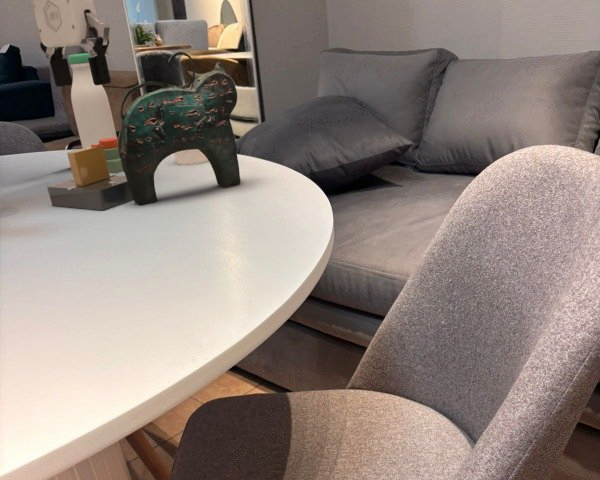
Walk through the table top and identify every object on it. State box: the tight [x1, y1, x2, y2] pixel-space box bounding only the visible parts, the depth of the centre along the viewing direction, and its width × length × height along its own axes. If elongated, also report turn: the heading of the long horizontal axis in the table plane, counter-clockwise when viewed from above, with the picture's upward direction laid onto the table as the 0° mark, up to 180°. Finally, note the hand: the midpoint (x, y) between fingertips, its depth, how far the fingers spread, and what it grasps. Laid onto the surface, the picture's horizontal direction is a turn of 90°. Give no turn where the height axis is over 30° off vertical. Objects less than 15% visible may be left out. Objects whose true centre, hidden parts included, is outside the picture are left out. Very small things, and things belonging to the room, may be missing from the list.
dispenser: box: [104, 147, 124, 174], centre depth 127 cm, size 10×8×4 cm
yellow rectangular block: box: [66, 144, 111, 186], centre depth 101 cm, size 6×2×5 cm, turn 148°
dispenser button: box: [99, 137, 118, 149], centre depth 126 cm, size 4×4×2 cm
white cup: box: [173, 149, 209, 166], centre depth 124 cm, size 8×8×10 cm
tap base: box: [46, 173, 134, 211], centre depth 104 cm, size 12×10×3 cm
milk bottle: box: [67, 52, 118, 149], centre depth 137 cm, size 8×8×20 cm
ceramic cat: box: [117, 51, 241, 206], centre depth 98 cm, size 20×6×20 cm, turn 119°
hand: (83, 84), depth 107 cm, fingers open, 9 cm apart
